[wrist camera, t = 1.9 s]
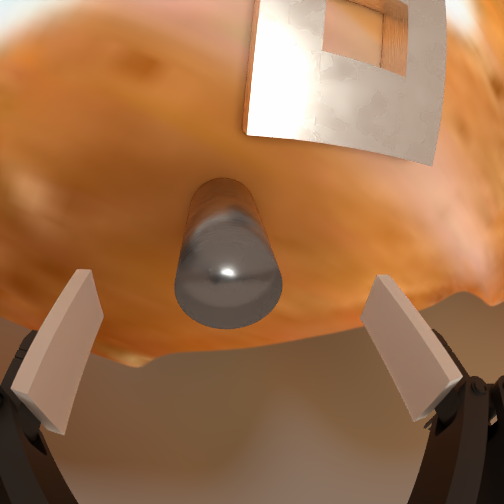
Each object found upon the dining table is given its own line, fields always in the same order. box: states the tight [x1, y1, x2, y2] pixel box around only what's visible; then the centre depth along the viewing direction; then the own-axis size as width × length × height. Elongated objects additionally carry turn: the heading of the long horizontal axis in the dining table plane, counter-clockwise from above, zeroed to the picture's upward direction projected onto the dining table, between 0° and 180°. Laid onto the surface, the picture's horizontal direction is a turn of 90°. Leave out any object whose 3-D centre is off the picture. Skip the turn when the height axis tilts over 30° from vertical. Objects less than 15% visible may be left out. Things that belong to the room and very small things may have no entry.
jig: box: [242, 0, 447, 166], centre depth 12 cm, size 14×18×6 cm
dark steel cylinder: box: [175, 178, 282, 329], centre depth 17 cm, size 5×5×10 cm
